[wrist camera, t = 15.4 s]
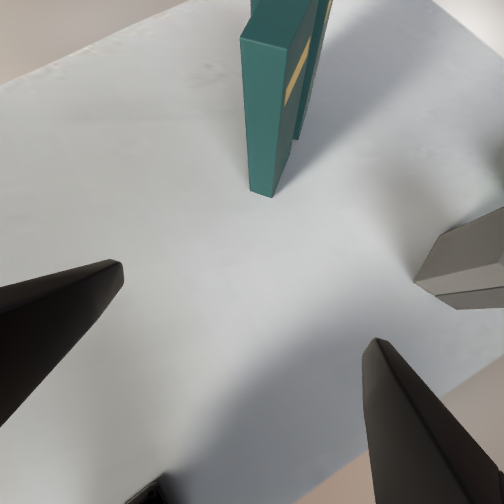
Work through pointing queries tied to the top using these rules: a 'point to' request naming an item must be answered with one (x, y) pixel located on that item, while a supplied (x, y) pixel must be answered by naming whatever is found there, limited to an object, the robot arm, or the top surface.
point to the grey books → (468, 265)
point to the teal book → (273, 84)
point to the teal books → (309, 58)
